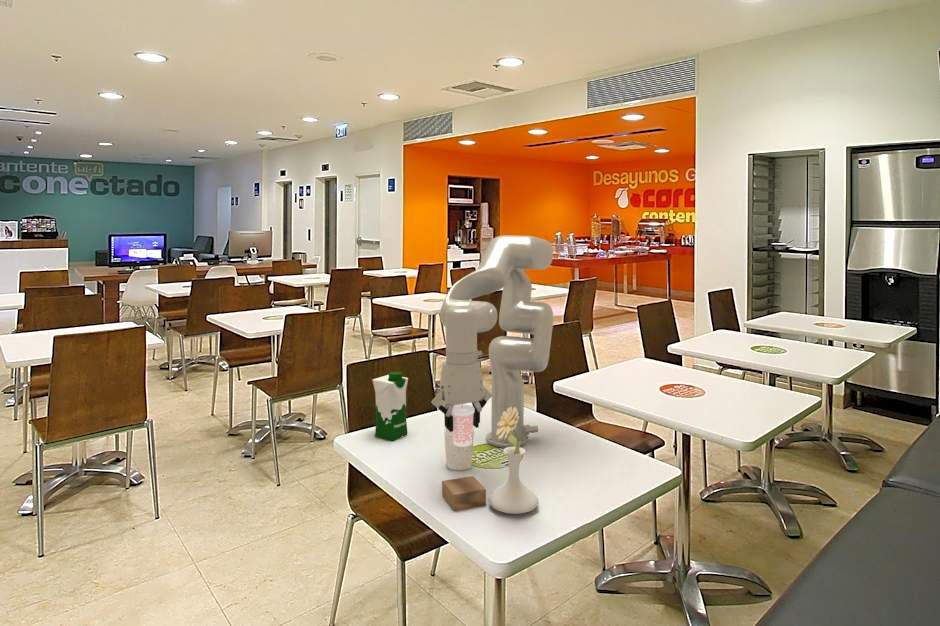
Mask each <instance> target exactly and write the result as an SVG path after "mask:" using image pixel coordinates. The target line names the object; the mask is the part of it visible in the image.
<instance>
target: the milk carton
mask: <svg viewBox="0 0 940 626" xmlns="http://www.w3.org/2000/svg"><path fill="white" fill-rule="evenodd" d="M408 381H409V377H405V376H403V372H402V371H397V370H395V371H389V372H388V374H387V375H383V376H380V377H377V378H373V379H372V385H373V387H374V393H375V431H374V437H375V438H380V439H383V440H386V441H389V440H390V441H389V442H394V441H397V440H399V439H400V437H401V438H403V437H405V435H406V436H408V435H407V434H409V433H408V423H407V387H408ZM402 436H403V437H402ZM398 438H399V439H398Z"/></svg>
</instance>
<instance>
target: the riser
mask: <svg viewBox="0 0 940 626" xmlns="http://www.w3.org/2000/svg"><path fill="white" fill-rule="evenodd" d="M441 497H442V498H443V499H444V501H445V502H446V503H447V504H448V506H449V507H450V509H452V511H453V512H457V511H463V510H467V509H473V508H479V507H483V506H487V488H486V487H485V486H484V485H483V484H482V483H480V481H479V480H478V479H477V478H476V477H475V476H474V475H471V476H469V475H468V476H465V477H457V478H453V479H447V480H442V481H441Z"/></svg>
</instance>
